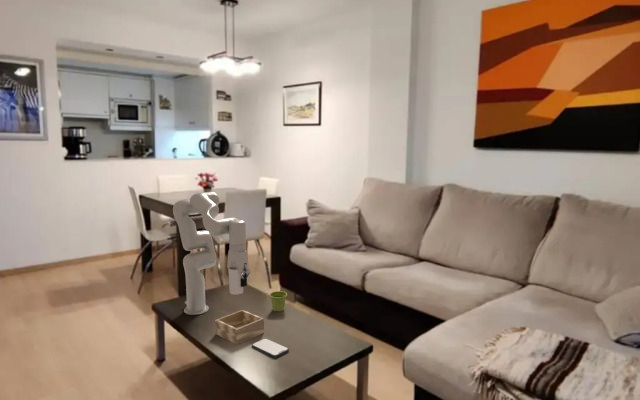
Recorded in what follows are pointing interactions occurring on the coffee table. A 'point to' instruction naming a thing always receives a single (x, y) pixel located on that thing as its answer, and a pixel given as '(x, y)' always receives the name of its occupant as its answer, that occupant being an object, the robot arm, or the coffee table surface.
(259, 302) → the coffee table surface
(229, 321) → the open wooden crate
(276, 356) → the smartphone
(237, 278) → the mug
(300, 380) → the coffee table surface
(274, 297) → the plant pot
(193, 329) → the coffee table surface
